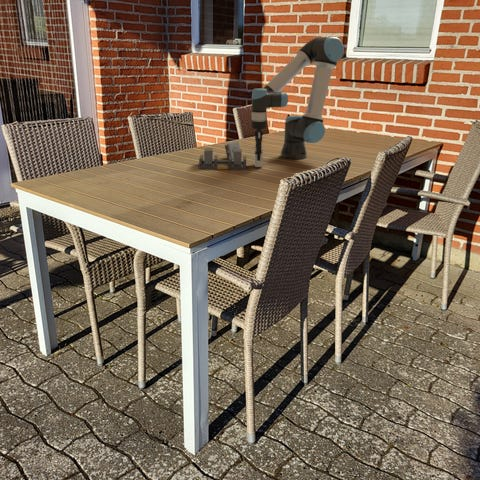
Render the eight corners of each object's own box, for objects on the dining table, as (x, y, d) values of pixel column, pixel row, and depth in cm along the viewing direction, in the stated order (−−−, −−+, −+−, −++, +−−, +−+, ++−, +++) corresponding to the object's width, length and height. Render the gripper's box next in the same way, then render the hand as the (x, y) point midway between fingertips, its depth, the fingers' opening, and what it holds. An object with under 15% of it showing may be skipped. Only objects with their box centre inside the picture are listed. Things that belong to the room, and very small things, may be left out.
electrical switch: (231, 160, 263) (230, 143, 260) (224, 159, 266) (223, 143, 263) (242, 157, 270) (241, 141, 267) (235, 157, 273) (234, 141, 270)
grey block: (261, 163, 254) (262, 146, 251) (262, 166, 247) (262, 149, 243) (254, 163, 254) (254, 146, 251) (254, 166, 247) (254, 149, 243)
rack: (245, 164, 255) (246, 147, 251) (246, 170, 242) (246, 152, 239) (200, 163, 254) (200, 146, 251) (198, 169, 242) (198, 151, 238)
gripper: (251, 117, 251) (250, 160, 260) (252, 123, 232) (251, 169, 241) (265, 117, 251) (264, 160, 260) (267, 123, 232) (266, 169, 241)
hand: (258, 164), depth 250 cm, fingers closed on grey block, 8 cm apart
